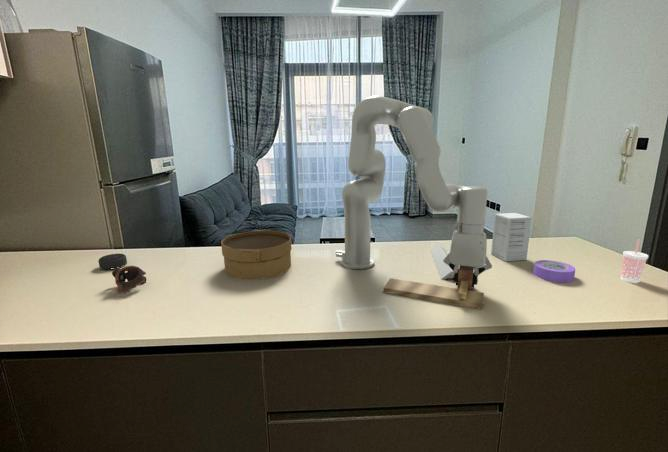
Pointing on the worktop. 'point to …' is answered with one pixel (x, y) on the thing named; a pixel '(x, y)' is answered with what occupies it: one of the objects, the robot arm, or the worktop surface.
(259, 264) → the steamer basket
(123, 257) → the smart speaker
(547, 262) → the masking tape
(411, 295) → the oak board
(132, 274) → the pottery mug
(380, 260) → the worktop surface
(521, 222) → the supplement box
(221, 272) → the worktop surface
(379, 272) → the worktop surface
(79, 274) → the worktop surface
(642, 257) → the beverage cup
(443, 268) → the crown molding
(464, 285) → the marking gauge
